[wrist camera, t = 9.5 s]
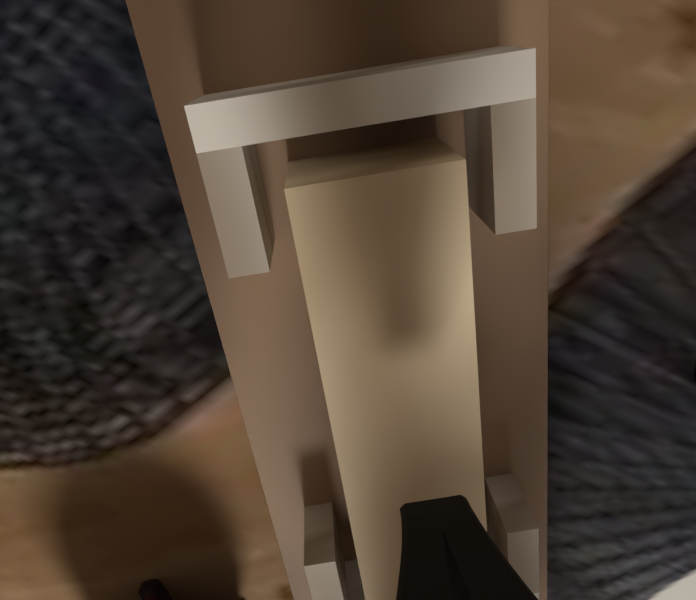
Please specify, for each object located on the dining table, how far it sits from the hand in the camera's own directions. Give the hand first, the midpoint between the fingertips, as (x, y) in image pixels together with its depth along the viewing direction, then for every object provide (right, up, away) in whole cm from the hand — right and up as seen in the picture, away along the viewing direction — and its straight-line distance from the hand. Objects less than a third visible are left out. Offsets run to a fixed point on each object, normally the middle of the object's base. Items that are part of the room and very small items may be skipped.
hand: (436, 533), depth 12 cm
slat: (-1, +3, +6) cm, 7 cm away
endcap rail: (-1, +3, +7) cm, 8 cm away
